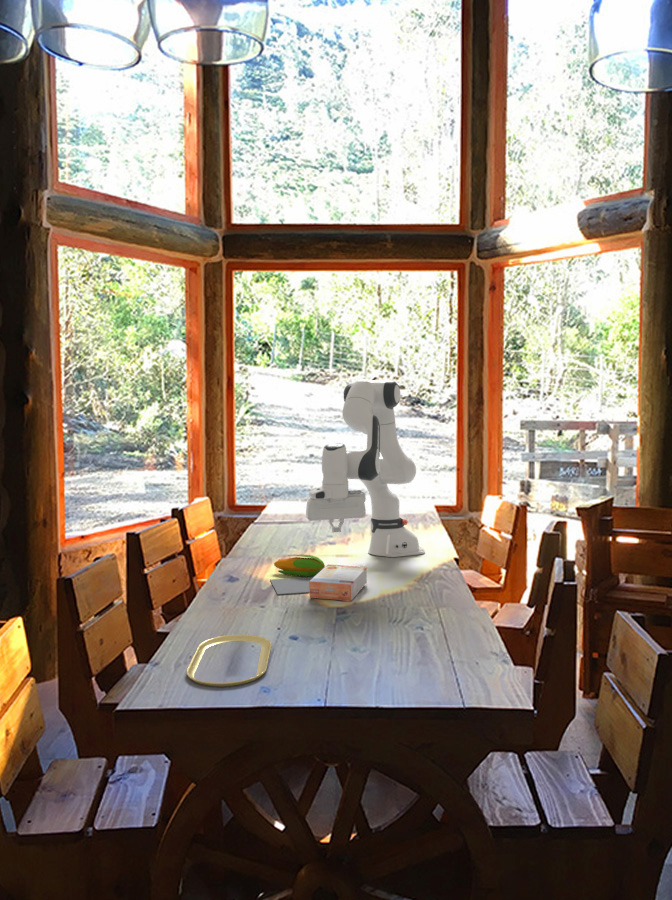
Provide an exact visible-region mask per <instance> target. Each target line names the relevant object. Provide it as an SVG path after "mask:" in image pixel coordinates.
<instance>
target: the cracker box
mask: <svg viewBox="0 0 672 900" xmlns="http://www.w3.org/2000/svg"><path fill="white" fill-rule="evenodd" d="M367 569H368V568H367V566H354V565H341V564H327V565H325V568H323V569H322V570H321V571H320V572H319V573H318V574H317V575H316V576H314V577H313V578H312V579H311V580H310V581H309V592H310V593H309V599H310V598H311V599H319V600H321V599H323V600H333V601H334V600H335V601H344V602H352V601H353V600H354V598H355V597H356V596H357V595H358V594H359V592H360V591H361V590H362V589H363V588H364V587H365V586H366V585H367V581H368V579H367V577H368V575H367V572H368V570H367Z"/></svg>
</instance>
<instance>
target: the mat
mask: <svg viewBox="0 0 672 900" xmlns="http://www.w3.org/2000/svg"><path fill="white" fill-rule="evenodd" d="M312 578H313V577H288V578H274V579H269V581H270V583H271V585H272V587H273V589H274V591H275V592H276V594H277V596H286V595H300V594H301V595H302V594H303V595H304V594H310V592H309V581H310V580H311V579H312Z"/></svg>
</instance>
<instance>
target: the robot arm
mask: <svg viewBox="0 0 672 900" xmlns="http://www.w3.org/2000/svg"><path fill="white" fill-rule="evenodd" d="M400 400H401V388H400V386H399V383H397V382H396V381H394V380H390V379H387V380H382V379H380V380H377V379H376V380H375V379H372V380H366V379H358V380H356V381H354V382H350V383H348V384H346V386H345V388H344V389H343V402H344V403H343V406H342V419H343V420H344V422H345V424H346V425H347V426H348V427H349V428H351V429H352V430H355V431H357V432H360V433H363V434H365V435H366V436H367V438H366V449H365V450H362V451H355V450H353V451H352V450H347V447H346V445H345V444H344V443H341V442H333V443H328V444H326V445H324V446H323V449H322V457H321V458H322V459H321V472H322V476H323V477H322V482H321V483H322V484H321V486H320V487H317V488H315V489H312V490H309V492H308V494H309V499H308V500H307V501H306V507H305V508H306V510H305V516H306V517H305V518H306V519H307V520H308V521H309V522H310V521H312V522H313V521H314V522H315V521H328V524H329V525H330V527H331V533H341V532H342V527H343V525H344V523H345V519H361V518H365V516H366V515H367V513H366V505H365V502H366V500H367V499H366V493H365V492H364V491H362V490H360V489H359V490H349V480H359V481H360V482H362V484H363V485H364V486H365V488H366V489H367V492H368V494H369V496H370V497H369V498H370V502H371V504H370V505H371V518H370V532H371V535H370V536H371V537H370V543H369V548H368V554H370V555H373V556H377V557H379V556H380V557H386V558H398V557H406V556H407V557H408V556H417V555H423V554H425V549H424V548H423V547H421V546H420V545H419V544H420V543H419V540H418V537H417V536H416V534H414V533H413V532H411V531H410V530H409V529H408V528H406V527H405V526H406V525H408V524H409V522H408V520H407V519H404V518H401V517H400V499H399V498H398V495H396V494H395V493H393V492H392V491H391V490H390V489H389V486H388V484H389V485H404V484H406V485H407V484H409V483H412V482H413V480H414V479H415V478H416V474H417V468H416V465H415V462H414V461H413V460H412V458H410V457H408V455H407V454H405V452H404V450H402V448H401V446H400V443H399V440H398V439H399V438H398V434H397V426H396V425H397V423H396V415H395V410H394V408H396V407H397V405H398V404H399V403H400ZM334 520H338V521H339V523H338V525H337V526H334V524H333V523H334Z"/></svg>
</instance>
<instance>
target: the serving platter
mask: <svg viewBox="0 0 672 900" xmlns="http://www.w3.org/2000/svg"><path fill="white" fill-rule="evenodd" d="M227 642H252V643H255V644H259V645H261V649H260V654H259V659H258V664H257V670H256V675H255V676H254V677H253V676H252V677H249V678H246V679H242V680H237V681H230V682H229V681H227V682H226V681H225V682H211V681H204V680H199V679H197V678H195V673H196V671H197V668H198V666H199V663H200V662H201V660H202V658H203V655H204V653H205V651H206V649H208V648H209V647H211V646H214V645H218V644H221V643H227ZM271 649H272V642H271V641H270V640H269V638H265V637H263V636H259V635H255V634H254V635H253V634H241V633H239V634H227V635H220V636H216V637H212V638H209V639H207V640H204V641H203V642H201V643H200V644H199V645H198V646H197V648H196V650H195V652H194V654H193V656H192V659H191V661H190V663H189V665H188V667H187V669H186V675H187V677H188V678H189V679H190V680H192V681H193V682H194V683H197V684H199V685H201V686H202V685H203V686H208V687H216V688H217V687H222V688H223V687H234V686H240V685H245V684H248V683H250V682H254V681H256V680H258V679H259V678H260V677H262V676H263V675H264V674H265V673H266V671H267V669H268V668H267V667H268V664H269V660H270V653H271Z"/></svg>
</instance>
